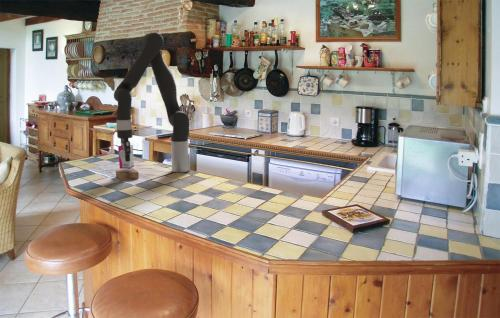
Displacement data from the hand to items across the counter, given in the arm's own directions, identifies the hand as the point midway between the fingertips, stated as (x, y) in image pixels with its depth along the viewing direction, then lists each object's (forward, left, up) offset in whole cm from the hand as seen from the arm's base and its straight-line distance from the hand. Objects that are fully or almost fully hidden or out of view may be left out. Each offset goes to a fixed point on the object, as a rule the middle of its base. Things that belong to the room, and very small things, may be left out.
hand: (126, 159), depth 211 cm
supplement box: (0, 0, -4) cm, 4 cm away
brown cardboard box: (0, 0, -10) cm, 10 cm away
